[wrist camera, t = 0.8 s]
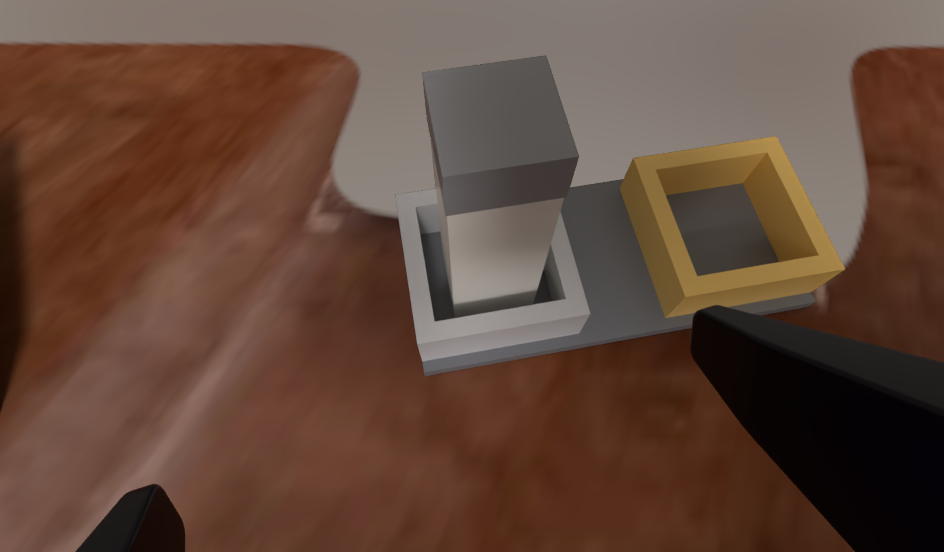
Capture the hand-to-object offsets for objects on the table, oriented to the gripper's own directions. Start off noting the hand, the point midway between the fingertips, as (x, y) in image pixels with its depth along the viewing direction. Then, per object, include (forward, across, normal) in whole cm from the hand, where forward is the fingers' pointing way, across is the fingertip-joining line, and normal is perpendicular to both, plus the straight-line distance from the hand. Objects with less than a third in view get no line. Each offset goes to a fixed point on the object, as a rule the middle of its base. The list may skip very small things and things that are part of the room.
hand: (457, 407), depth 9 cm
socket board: (+14, -10, +7) cm, 19 cm away
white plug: (+14, -5, +6) cm, 16 cm away
